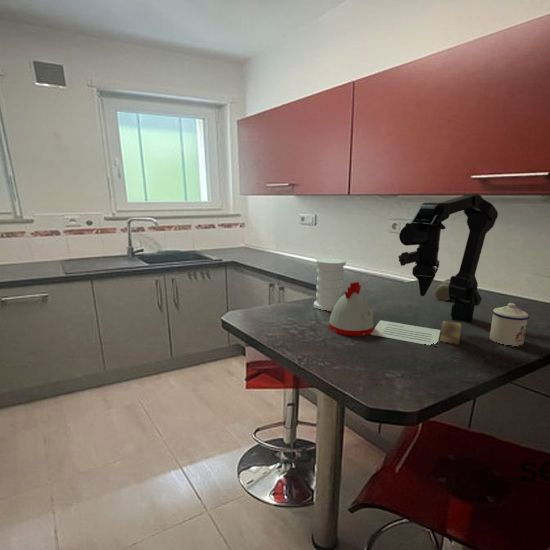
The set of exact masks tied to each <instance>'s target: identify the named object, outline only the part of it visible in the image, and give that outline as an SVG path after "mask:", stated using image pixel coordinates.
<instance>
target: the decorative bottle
mask: <svg viewBox="0 0 550 550" xmlns="http://www.w3.org/2000/svg"><path fill="white" fill-rule="evenodd" d="M450 279H451V278H450ZM450 279H448V278H447V279H446V280H443V282H441V284H440V285H439V286H438V287H436V288H435V291H434V296H435V298H436V299H437V300H439V301H442V302H448V301H451V300H450V298H449V292H448V288H449V287H448V286H449V284H450Z"/></svg>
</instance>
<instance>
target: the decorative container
mask: <svg viewBox="0 0 550 550" xmlns="http://www.w3.org/2000/svg"><path fill="white" fill-rule="evenodd" d="M315 262H316V265H317V269H316V273H317V277H316V286H315V287H316V288H315V289H316V294H315V297H316V300H315V301H314V302H313V307H314V308H315V309H316V308H318V309H317V310H319V309H321V310H320V311H323V310H327V311H326V312H332V311H331V310H332V306H335V304H336V303H337V301H338V300H339V299H340V298H341V297H342V296H343V289H344V286H343V283H344V275H345V274H344V273H345V270H344V267H345V266H346V260H344V259H340V258H331V257H328V258H327V257H326V258H318V259H316V261H315Z"/></svg>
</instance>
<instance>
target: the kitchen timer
mask: <svg viewBox="0 0 550 550" xmlns="http://www.w3.org/2000/svg"><path fill="white" fill-rule="evenodd" d="M361 289H362V285H361V284H360V282H359V281H356V282H350V284H349V287H348V286H347V291H345V292H344V294H342V297H341V298H340V299H339V300H338V301H337V303H336V304H335V306H332V310H331V311H330V312H331V313H330V317H329V323H328V327H329V330H331V331H332V332H334V333H336V334H339V335H343V336H349V337H350V336H352V337H360V336H367V335H370V334H371V333H372V332H373V330H374V312H373V309H371V308H370V305H369V303H368V302H367V301H366V299H365V298H364V297H363V296H362V295H361V294H360V291H361Z"/></svg>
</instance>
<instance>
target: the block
mask: <svg viewBox="0 0 550 550" xmlns="http://www.w3.org/2000/svg"><path fill="white" fill-rule="evenodd" d="M440 330H441V331H440V337H439V338H440V339H439V340H440V341H443V342H442V343H446V342H449V343H448V344H452V343H456V344H455V345H457V344H459V345H460V338H461V332H462V331H461V330H462V323H460V322H452V321H448V320H447V321H446V320H443V321H442V324H441V329H440ZM440 341H439V342H440Z"/></svg>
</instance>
